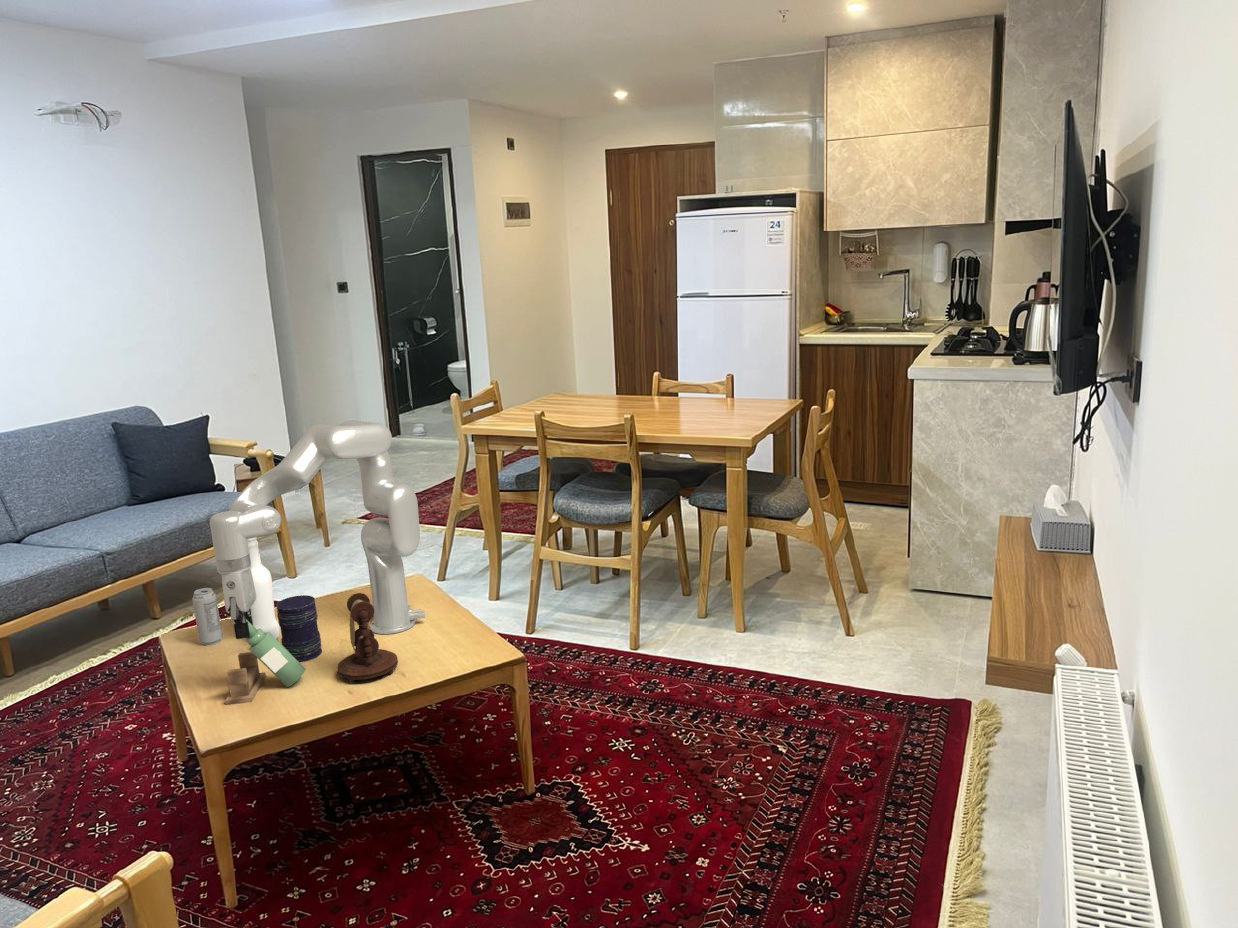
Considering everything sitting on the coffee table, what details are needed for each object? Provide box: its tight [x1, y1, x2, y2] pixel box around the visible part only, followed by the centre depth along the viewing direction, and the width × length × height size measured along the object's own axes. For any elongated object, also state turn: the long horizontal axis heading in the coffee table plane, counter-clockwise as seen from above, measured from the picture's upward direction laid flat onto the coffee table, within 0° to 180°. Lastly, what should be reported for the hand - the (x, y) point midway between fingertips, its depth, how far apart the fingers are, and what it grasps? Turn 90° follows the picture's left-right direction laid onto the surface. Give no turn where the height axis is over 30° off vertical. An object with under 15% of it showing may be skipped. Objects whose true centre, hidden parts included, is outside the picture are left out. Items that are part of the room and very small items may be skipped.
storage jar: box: [275, 594, 323, 663], centre depth 241 cm, size 10×10×15 cm
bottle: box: [248, 537, 281, 640], centre depth 252 cm, size 8×8×30 cm
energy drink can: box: [191, 587, 223, 646], centre depth 253 cm, size 6×6×15 cm
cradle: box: [224, 651, 267, 706], centre depth 224 cm, size 6×14×8 cm, turn 8°
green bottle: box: [230, 614, 307, 688], centre depth 223 cm, size 6×6×21 cm
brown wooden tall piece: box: [336, 592, 399, 685], centre depth 228 cm, size 15×15×20 cm
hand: (244, 634), depth 221 cm, fingers closed on green bottle, 2 cm apart
